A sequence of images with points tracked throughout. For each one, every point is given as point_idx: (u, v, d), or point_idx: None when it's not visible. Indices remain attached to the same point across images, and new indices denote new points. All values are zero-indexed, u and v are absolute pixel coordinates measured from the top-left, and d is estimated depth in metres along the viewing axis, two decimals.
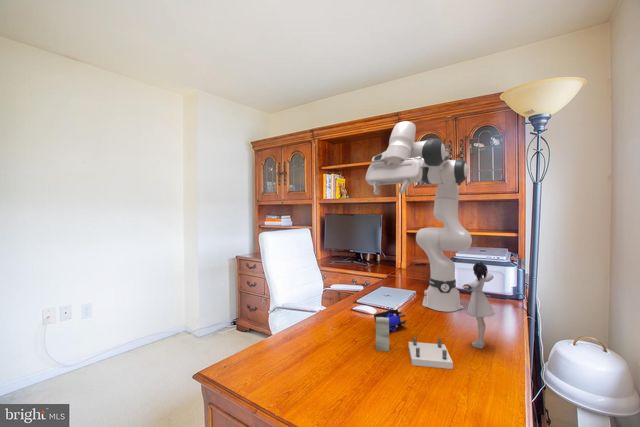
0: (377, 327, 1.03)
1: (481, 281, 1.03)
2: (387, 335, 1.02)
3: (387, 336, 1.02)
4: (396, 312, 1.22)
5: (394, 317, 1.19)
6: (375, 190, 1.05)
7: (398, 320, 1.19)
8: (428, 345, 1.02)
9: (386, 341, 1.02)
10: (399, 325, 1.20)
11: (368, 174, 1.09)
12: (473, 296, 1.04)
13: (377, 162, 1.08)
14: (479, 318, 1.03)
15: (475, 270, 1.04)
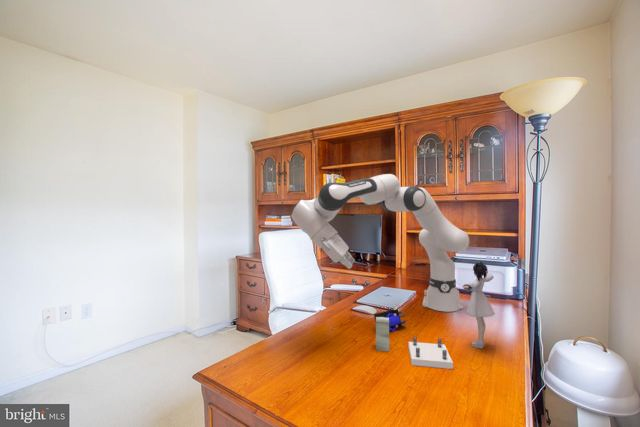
0: (377, 327, 1.03)
1: (481, 281, 1.03)
2: (387, 335, 1.02)
3: (387, 336, 1.02)
4: (396, 312, 1.22)
5: (394, 317, 1.19)
6: (350, 262, 1.11)
7: (398, 320, 1.19)
8: (428, 345, 1.02)
9: (386, 341, 1.02)
10: (399, 325, 1.20)
11: None
12: (473, 296, 1.04)
13: None
14: (479, 318, 1.03)
15: (475, 270, 1.04)
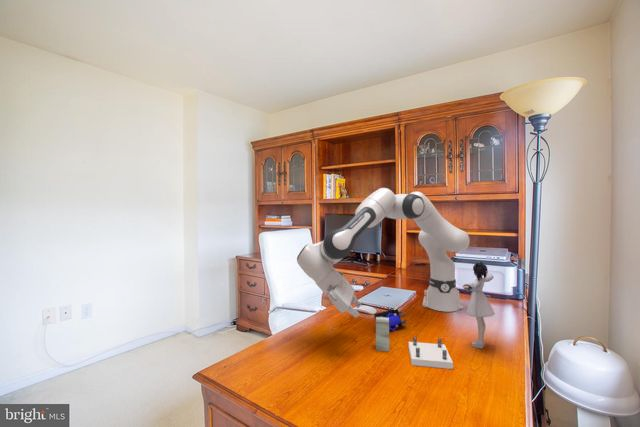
0: (377, 327, 1.03)
1: (481, 281, 1.03)
2: (387, 335, 1.02)
3: (387, 336, 1.02)
4: (396, 312, 1.22)
5: (394, 317, 1.20)
6: None
7: (398, 320, 1.19)
8: (428, 345, 1.02)
9: (386, 341, 1.02)
10: (399, 325, 1.21)
11: None
12: (473, 296, 1.04)
13: None
14: (479, 318, 1.03)
15: (475, 270, 1.04)
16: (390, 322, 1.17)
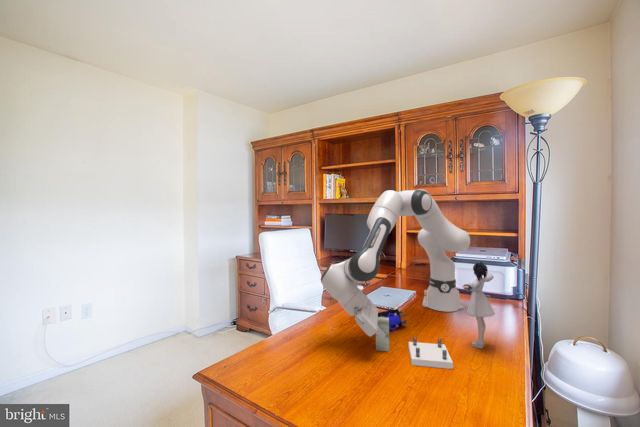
0: None
1: (481, 281, 1.03)
2: (387, 335, 1.02)
3: (387, 336, 1.02)
4: (397, 312, 1.22)
5: (395, 316, 1.20)
6: None
7: (399, 320, 1.20)
8: (428, 345, 1.02)
9: (386, 341, 1.02)
10: (400, 325, 1.21)
11: None
12: (473, 296, 1.04)
13: None
14: (479, 318, 1.03)
15: (475, 270, 1.04)
16: (390, 322, 1.18)
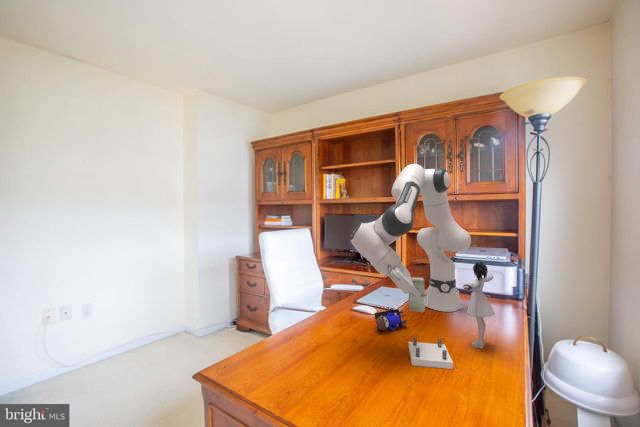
0: None
1: (481, 281, 1.03)
2: (422, 294, 0.97)
3: (422, 295, 0.97)
4: (397, 311, 1.22)
5: (395, 316, 1.20)
6: None
7: (399, 319, 1.20)
8: (428, 345, 1.02)
9: (422, 301, 0.97)
10: (400, 324, 1.21)
11: None
12: (473, 296, 1.04)
13: None
14: (479, 318, 1.03)
15: (475, 270, 1.04)
16: (390, 321, 1.18)
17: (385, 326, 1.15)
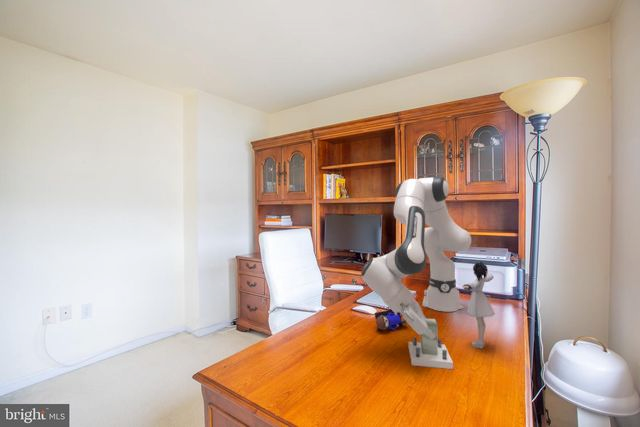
0: None
1: (481, 281, 1.03)
2: (435, 338, 0.95)
3: (435, 339, 0.95)
4: None
5: (395, 316, 1.20)
6: None
7: (399, 319, 1.20)
8: None
9: (434, 344, 0.95)
10: (400, 324, 1.21)
11: None
12: (473, 296, 1.04)
13: None
14: (479, 318, 1.03)
15: (475, 270, 1.04)
16: (390, 321, 1.18)
17: (385, 326, 1.16)
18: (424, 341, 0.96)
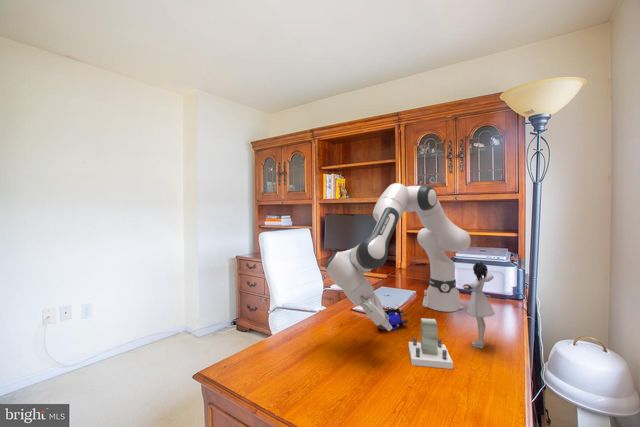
0: (424, 329, 0.96)
1: (481, 281, 1.03)
2: (435, 338, 0.95)
3: (435, 339, 0.95)
4: (398, 311, 1.23)
5: (395, 316, 1.20)
6: None
7: (399, 319, 1.20)
8: None
9: (434, 344, 0.95)
10: (400, 324, 1.21)
11: None
12: (473, 296, 1.04)
13: None
14: (479, 318, 1.03)
15: (475, 270, 1.04)
16: (390, 321, 1.18)
17: None
18: (424, 341, 0.96)
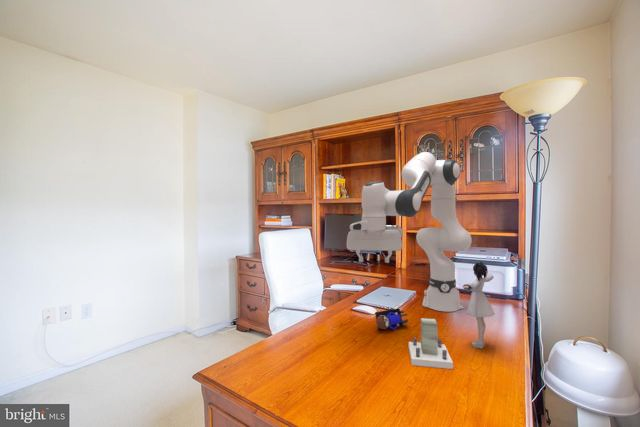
0: (424, 329, 0.96)
1: (481, 281, 1.03)
2: (435, 338, 0.95)
3: (435, 339, 0.95)
4: (398, 311, 1.23)
5: (395, 316, 1.21)
6: (360, 260, 1.11)
7: (399, 319, 1.20)
8: None
9: (434, 344, 0.95)
10: (401, 324, 1.21)
11: (349, 243, 1.10)
12: (473, 296, 1.04)
13: (357, 231, 1.09)
14: (479, 318, 1.03)
15: (475, 270, 1.04)
16: (391, 321, 1.19)
17: (385, 325, 1.16)
18: (424, 341, 0.96)
